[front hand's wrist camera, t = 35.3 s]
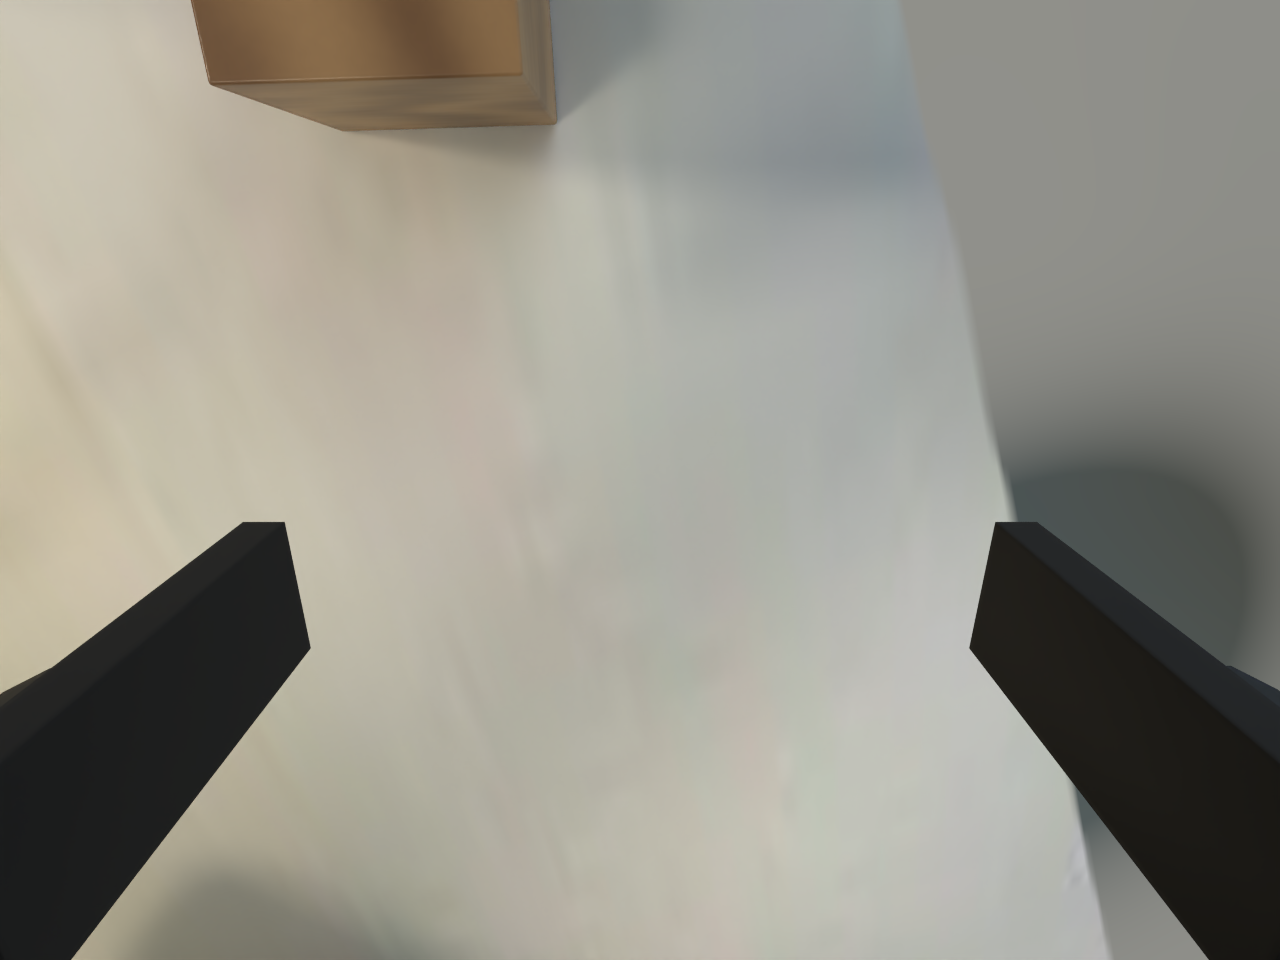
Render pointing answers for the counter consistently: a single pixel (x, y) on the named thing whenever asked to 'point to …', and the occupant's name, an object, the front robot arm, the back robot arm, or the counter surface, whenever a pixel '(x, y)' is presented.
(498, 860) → the counter surface
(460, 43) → the block
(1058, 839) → the counter surface
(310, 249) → the counter surface
